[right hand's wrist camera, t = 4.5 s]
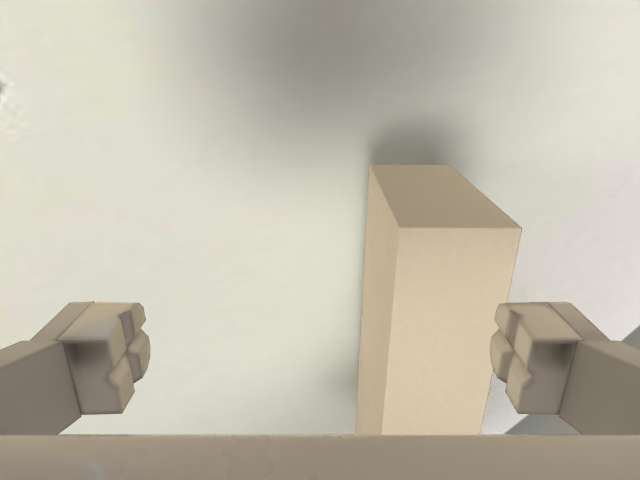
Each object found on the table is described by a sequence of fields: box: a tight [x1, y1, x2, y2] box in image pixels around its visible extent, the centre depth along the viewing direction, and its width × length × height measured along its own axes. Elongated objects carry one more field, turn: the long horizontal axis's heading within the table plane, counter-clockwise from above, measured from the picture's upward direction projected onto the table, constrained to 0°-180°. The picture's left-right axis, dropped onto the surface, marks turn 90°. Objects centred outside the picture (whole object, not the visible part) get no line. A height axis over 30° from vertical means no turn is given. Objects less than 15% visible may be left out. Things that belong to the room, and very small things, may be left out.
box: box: [355, 165, 522, 435], centre depth 31 cm, size 26×6×12 cm, turn 0°
